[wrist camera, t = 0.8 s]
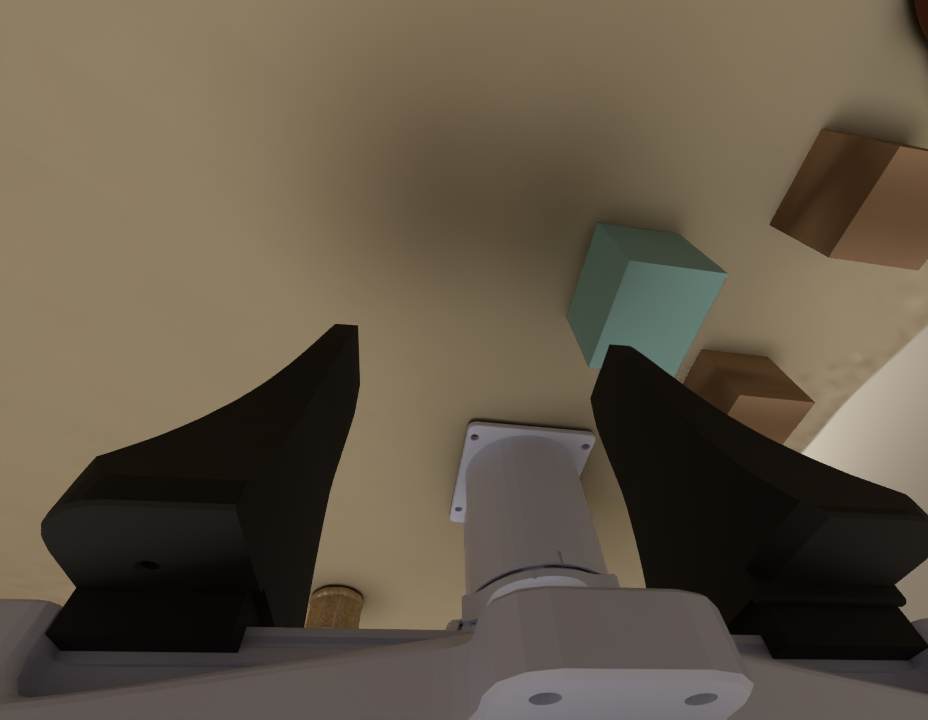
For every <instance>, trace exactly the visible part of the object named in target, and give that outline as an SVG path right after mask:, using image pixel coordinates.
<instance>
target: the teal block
mask: <svg viewBox="0 0 928 720" xmlns="http://www.w3.org/2000/svg"><path fill="white" fill-rule="evenodd" d="M727 275H728V273H727V272H725V271H724V270H723V269H722V268H720V267H719V266H718V265H717V264H715V263H714V262H713V261H712V260H710V259H709V258H708V257H707V256H706V255H704V254H703V253H702V252H701V251H699V250H698V249H697V248H696V247H694V246H693V245H692V244H691V243H689V242H688V241H687V240H686V239H685V238H683V237H682V236H681V235H680V234H674V233H667V232H660V231H653V230H646V229H639V228H632V227H625V226H618V225H611V224H604V223H597V225H596V228H595V231H594V234H593V237H592V241H591V244H590V247H589V250H588V253H587V256H586V259H585V262H584V265H583V269H582V272H581V275H580V278H579V281H578V284H577V287H576V290H575V293H574V297H573V300H572V303H571V306H570V309H569V312H568V315H567V319H568V321H569V324H570V326H571V328H572V331H573V333H574V335H575V337H576V340H577V342H578V344H579V346H580V349H581V351H582V353H583V356H584V358H585V360H586V362H587V365H588V367H589V368H597V369H601V367H602V364H603V361H604V358H605V356H606V353H607V350H608V347H609V344H612V345H626V346H631V347H633V348H634V349H636V350H637V351H639V352H640V353H642V354H643V355H644V356H646V357H647V358H649V359H650V360H651V361H653V362H654V363H655V364H657V365H658V366H659V367H660V368H662V369H663V370H664V371H666V372H667V373H668V374H670V375H671V376H672V377H674V376H675V375H676V373H677V371H678V369H679V367H680V365H681V363H682V361H683V359H684V357H685V355H686V354H687V352H688V350H689V348H690V346H691V344H692V342H693V340H694V338H695V336H696V334H697V333H698V331H699V329H700V327H701V325H702V323H703V321H704V319H705V317H706V315H707V313H708V311H709V310H710V308H711V306H712V304H713V302H714V300H715V298H716V296H717V294H718V292H719V290H720V289H721V287H722V285H723V283H724V281H725V279H726V277H727Z"/></svg>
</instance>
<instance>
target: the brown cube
mask: <svg viewBox="0 0 928 720" xmlns="http://www.w3.org/2000/svg"><path fill="white" fill-rule="evenodd" d="M770 225H771V226H772V227H774V228H776V229H778V230H780V231H782V232H783V233H785V234H787V235H789V236H791V237H793V238H794V239H796V240H798V241H800V242H802V243H803V244H805V245H807V246H809V247H811V248H813V249H814V250H816V251H818V252H820V253H822V254H823V255H825V256H827V257H830V258H837V259H844V260H851V261H858V262H864V263H871V264H878V265H885V266H892V267H899V268H905V269H912V270H919V269H920V268H921V267H922V265H923V264H924V263H925V262H926V260H927V259H928V149H925V148H920V147H916V146H911V145H906V144H900V143H895V142H889V141H884V140H878V139H873V138H867V137H861V136H856V135H850V134H845V133H839V132H834V131H828V130H823V129H821V131H820V133H819V135H818V137H817V138H816V140H815V142H814V144H813V146H812V148H811V149H810V151H809V153H808V155H807V157H806V159H805V160H804V162H803V164H802V166H801V168H800V170H799V171H798V173H797V175H796V177H795V179H794V181H793V182H792V184H791V186H790V188H789V190H788V192H787V193H786V195H785V197H784V199H783V201H782V203H781V204H780V206H779V208H778V210H777V212H776V214H775V215H774V217H773V219H772V221H771V223H770Z"/></svg>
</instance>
